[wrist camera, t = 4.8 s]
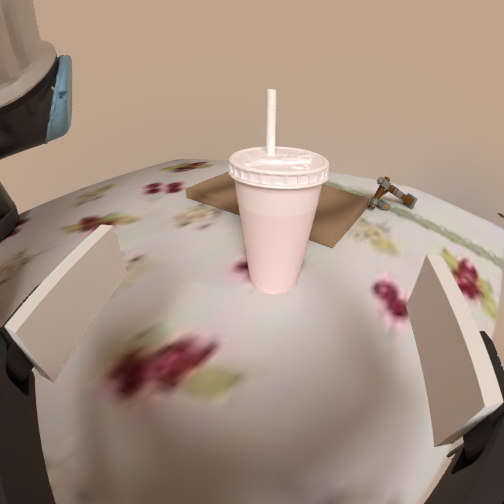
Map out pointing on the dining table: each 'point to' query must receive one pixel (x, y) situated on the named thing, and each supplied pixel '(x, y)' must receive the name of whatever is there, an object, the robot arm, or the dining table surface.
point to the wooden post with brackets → (385, 184)
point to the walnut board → (326, 216)
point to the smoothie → (276, 206)
